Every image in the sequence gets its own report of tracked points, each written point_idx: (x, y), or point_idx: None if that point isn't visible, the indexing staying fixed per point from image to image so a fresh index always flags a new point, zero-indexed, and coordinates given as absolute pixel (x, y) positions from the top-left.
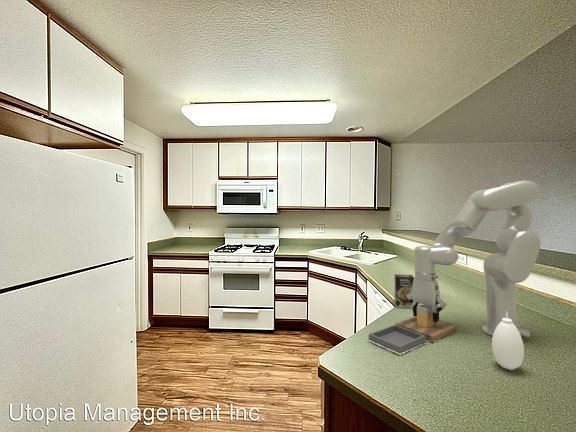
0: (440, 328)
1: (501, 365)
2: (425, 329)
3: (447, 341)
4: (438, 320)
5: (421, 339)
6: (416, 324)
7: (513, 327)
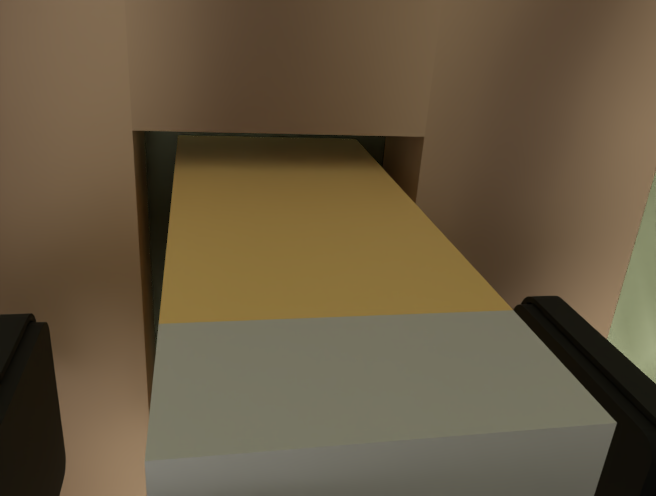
0: (535, 273)
1: None
2: None
3: (611, 343)
4: (556, 302)
5: None
6: (148, 399)
7: None
